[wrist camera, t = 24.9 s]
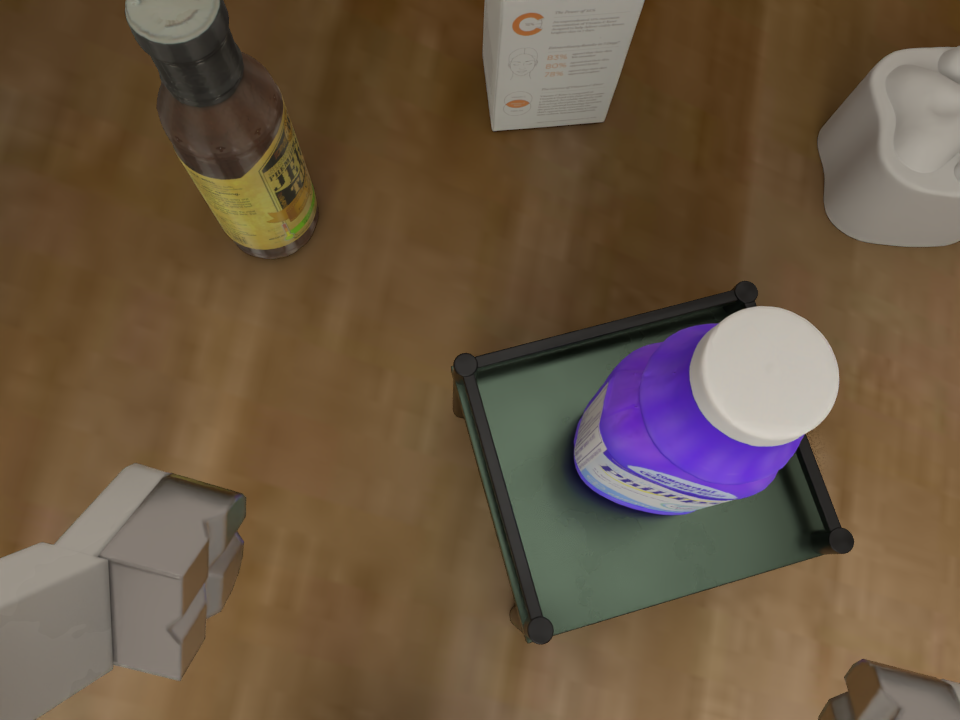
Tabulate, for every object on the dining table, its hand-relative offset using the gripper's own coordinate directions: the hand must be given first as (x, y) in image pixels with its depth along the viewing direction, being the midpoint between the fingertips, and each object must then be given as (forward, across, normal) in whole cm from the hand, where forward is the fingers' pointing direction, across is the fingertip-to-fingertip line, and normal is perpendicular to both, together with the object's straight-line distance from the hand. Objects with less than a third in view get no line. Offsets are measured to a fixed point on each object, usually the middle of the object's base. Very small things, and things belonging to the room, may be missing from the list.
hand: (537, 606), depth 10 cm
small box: (+50, -4, -3) cm, 50 cm away
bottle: (+26, +6, -15) cm, 30 cm away
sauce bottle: (+40, -18, -13) cm, 46 cm away
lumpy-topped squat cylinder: (+50, +23, -3) cm, 55 cm away
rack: (+32, +6, -21) cm, 39 cm away
